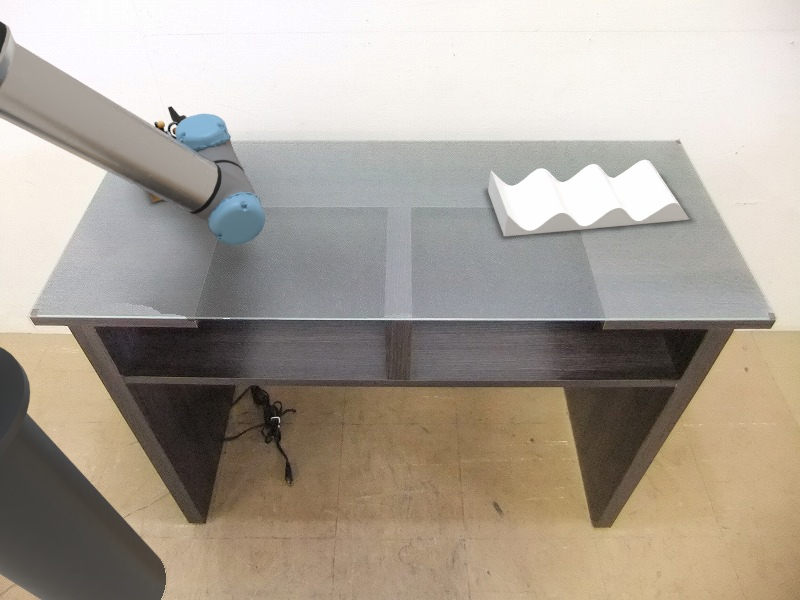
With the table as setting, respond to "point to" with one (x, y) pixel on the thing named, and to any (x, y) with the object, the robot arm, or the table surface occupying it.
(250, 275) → the table surface
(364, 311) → the table surface
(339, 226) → the table surface
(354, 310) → the table surface
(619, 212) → the white wavy block
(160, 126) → the gold potted plant ornament
